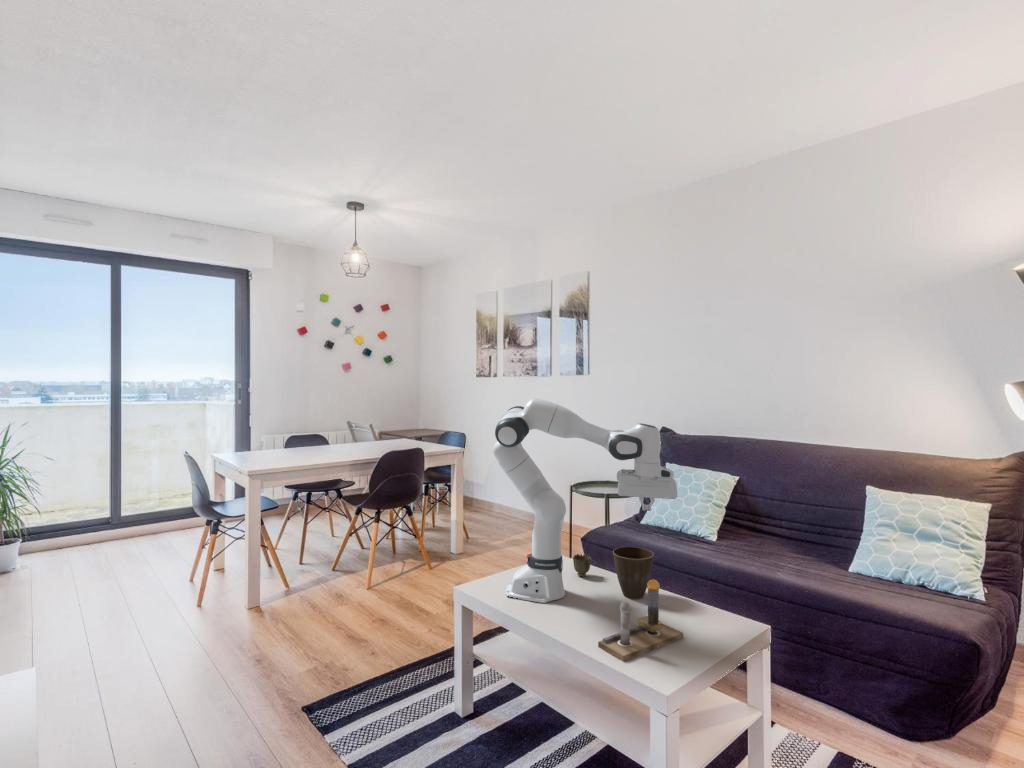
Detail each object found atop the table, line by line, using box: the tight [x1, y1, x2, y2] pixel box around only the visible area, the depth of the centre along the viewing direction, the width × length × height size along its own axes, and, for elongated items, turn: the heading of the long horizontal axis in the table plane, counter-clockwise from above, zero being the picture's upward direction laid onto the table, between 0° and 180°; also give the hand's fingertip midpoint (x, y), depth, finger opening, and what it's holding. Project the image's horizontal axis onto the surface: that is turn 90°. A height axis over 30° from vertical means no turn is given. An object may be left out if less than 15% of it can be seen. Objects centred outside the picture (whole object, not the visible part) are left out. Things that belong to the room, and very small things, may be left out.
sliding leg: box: [636, 579, 663, 632], centre depth 159 cm, size 4×6×16 cm
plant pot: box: [612, 546, 655, 600], centre depth 191 cm, size 15×15×16 cm
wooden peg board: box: [597, 601, 684, 662], centre depth 155 cm, size 26×10×13 cm, turn 124°
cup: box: [572, 553, 592, 578], centre depth 212 cm, size 8×7×8 cm
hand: (646, 510), depth 178 cm, fingers closed
